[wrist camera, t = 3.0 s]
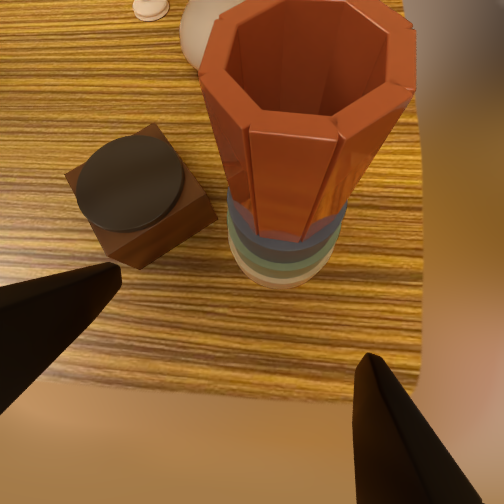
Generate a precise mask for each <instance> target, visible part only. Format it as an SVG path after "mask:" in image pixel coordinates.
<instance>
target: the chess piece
mask: <svg viewBox="0 0 504 504" xmlns="http://www.w3.org/2000/svg"><path fill="white" fill-rule="evenodd" d="M133 10H134V13H135V16H136V17H137V18H138V19H140V20H142V21H154V20H157V19H160V18H161V17H163V16H164V15H165V14H166V13H167V12H168V10H169V3H168V1H167V0H134V2H133Z"/></svg>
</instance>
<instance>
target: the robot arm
mask: <svg viewBox="0 0 504 504" xmlns="http://www.w3.org/2000/svg"><path fill="white" fill-rule="evenodd" d="M121 285H122V277H121V269H120V266H119V265H117V264H114V263H111V262H106V263H101V264H97V265H93V266H88V267H84V268H80V269H75V270H71V271H67V272H62V273H58V274H54V275H49V276H45V277H41V278H36V279H32V280H28V281H23V282H19V283H15V284H10V285H6V286H2V287H0V415H1V414H2V413H3V412H4V411H5V410H6V409H7V408H8V407H9V406H10V405H11V404H12V403H13V402H14V401H15V400H16V399H17V398H18V397H19V396H20V395H21V394H22V393H23V392H24V391H25V390H26V389H27V388H28V387H29V386H30V385H31V384H32V383H33V382H34V381H35V380H36V379H37V378H38V377H39V376H40V375H41V374H42V373H43V372H44V371H45V370H46V369H47V368H48V367H49V366H50V365H51V363H52V362H53V361H54V360H55V359H56V358H57V357H58V356H59V355H60V354H61V353H62V352H63V351H64V350H65V349H66V348H67V347H68V346H69V345H70V344H71V343H72V342H73V341H74V340H75V339H76V338H77V337H78V336H79V335H80V334H81V333H82V332H83V331H84V330H85V329H86V328H87V327H88V326H89V325H90V324H91V323H92V322H93V321H94V320H95V318H96V317H97V316H98V315H99V314H100V312H101V311H102V310H103V309H104V308H105V306H106V305H107V304H108V303H109V301H110V300H111V299H112V298H113V297H114V295H115V294H116V293H117V292H118V291H119V289H120V288H121ZM352 418H353V419H352V420H353V421H352V427H353V448H354V465H355V483H356V500H357V504H484V503H482V499H481V497H480V496H479V494H478V493H477V492H476V490H475V489H474V487H473V486H472V485H471V483H470V482H469V480H468V479H467V477H466V476H465V475H464V473H463V472H462V471H461V469H460V468H459V466H458V465H457V463H456V462H455V460H454V459H453V458H452V456H451V455H450V453H449V452H448V450H447V449H446V448H445V446H444V445H443V443H442V442H441V441H440V439H439V438H438V436H437V435H436V434H435V432H434V431H433V429H432V428H431V427H430V425H429V424H428V422H427V421H426V419H425V418H424V416H423V415H422V414H421V412H420V411H419V409H418V408H417V406H416V405H415V404H414V402H413V401H412V399H411V398H410V397H409V395H408V394H407V392H406V391H405V389H404V388H403V387H402V385H401V384H400V382H399V381H398V380H397V378H396V377H395V375H394V374H393V372H392V371H391V370H390V368H389V367H388V365H387V364H386V363H385V361H384V360H383V358H382V357H380V356H378V355H375V354H372V353H366V354H365V355H364V357H363V358H362V360H361V361H360V363H359V364H358V366H357V368H356V370H355V377H354V397H353V417H352Z"/></svg>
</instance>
